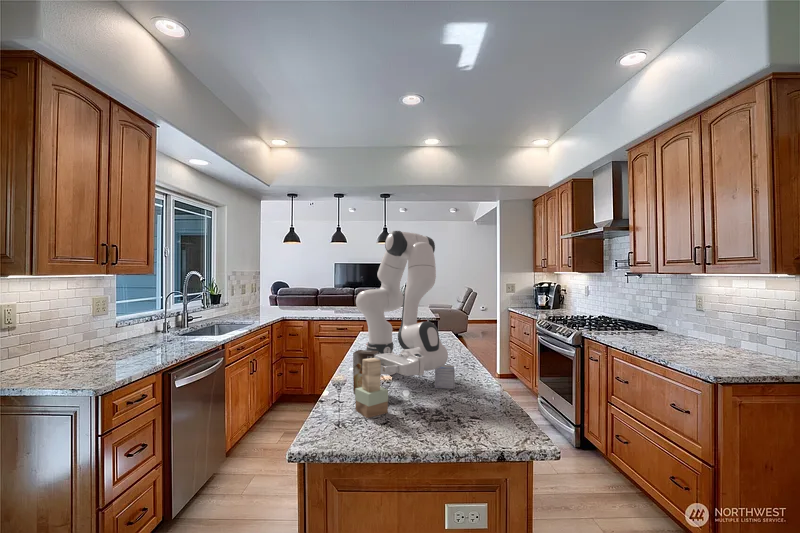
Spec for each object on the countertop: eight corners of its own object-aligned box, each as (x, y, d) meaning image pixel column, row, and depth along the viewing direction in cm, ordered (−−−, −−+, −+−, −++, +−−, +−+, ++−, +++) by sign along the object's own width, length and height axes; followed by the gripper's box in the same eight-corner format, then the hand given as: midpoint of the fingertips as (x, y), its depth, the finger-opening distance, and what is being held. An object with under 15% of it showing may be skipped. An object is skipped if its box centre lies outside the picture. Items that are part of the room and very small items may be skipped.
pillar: (362, 388, 136) (362, 359, 136) (373, 386, 139) (373, 357, 139) (368, 392, 133) (368, 362, 133) (380, 390, 135) (380, 360, 135)
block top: (355, 400, 137) (355, 388, 137) (374, 395, 142) (374, 384, 142) (368, 406, 131) (368, 394, 131) (388, 401, 136) (388, 389, 136)
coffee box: (380, 391, 159) (380, 350, 159) (374, 396, 152) (374, 354, 153) (358, 389, 161) (358, 349, 161) (352, 394, 155) (352, 352, 155)
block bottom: (355, 411, 137) (355, 399, 137) (375, 406, 142) (375, 395, 142) (367, 418, 131) (367, 406, 131) (387, 413, 135) (387, 401, 135)
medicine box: (454, 386, 166) (454, 365, 166) (454, 389, 161) (454, 367, 161) (435, 385, 167) (435, 364, 167) (434, 388, 162) (434, 367, 162)
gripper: (393, 347, 154) (362, 352, 146) (426, 357, 137) (392, 363, 129) (393, 364, 154) (362, 369, 146) (426, 376, 137) (392, 382, 129)
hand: (376, 366), depth 138 cm, fingers open, 8 cm apart
